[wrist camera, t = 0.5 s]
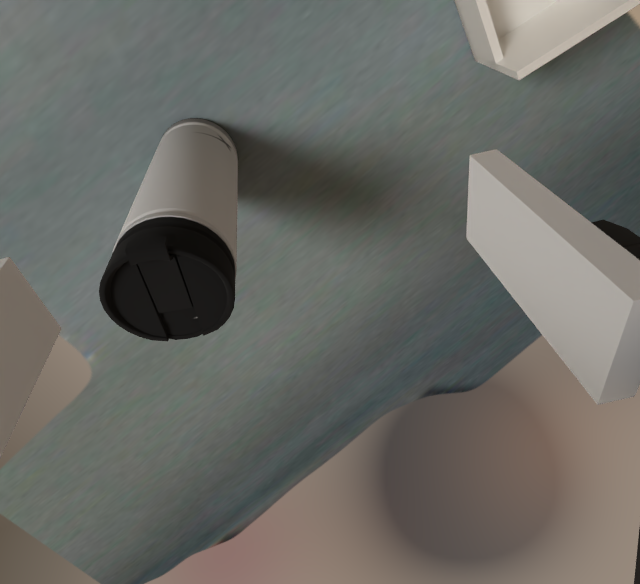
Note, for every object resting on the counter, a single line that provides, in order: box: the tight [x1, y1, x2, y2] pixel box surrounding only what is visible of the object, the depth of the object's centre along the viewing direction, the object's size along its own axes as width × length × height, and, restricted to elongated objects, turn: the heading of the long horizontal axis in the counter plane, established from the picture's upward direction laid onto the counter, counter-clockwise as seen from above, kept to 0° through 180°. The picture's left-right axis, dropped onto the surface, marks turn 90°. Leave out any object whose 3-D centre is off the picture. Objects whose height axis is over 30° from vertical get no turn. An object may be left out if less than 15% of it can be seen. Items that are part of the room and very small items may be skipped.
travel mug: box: [99, 118, 238, 341], centre depth 29 cm, size 6×7×20 cm
